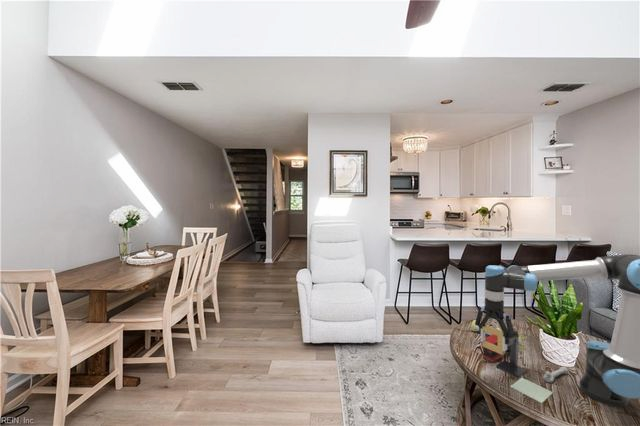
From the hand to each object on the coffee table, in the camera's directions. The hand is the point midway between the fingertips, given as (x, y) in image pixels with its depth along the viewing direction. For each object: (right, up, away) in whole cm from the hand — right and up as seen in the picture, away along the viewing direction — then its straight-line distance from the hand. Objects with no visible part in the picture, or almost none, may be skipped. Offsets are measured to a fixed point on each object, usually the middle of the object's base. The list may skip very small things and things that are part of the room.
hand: (493, 345), depth 130 cm
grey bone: (+33, -18, +4) cm, 38 cm away
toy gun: (+17, -17, +22) cm, 32 cm away
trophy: (+28, -16, +40) cm, 52 cm away
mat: (+14, -18, -5) cm, 23 cm away
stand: (+12, -17, +8) cm, 22 cm away
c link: (0, -2, 0) cm, 2 cm away
